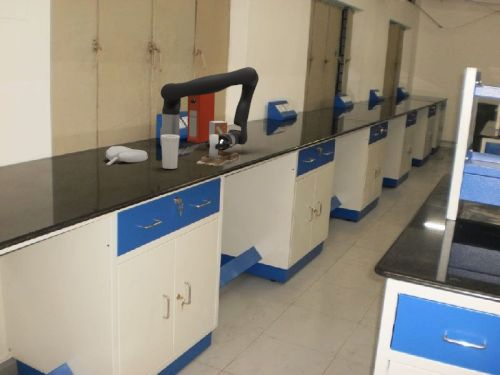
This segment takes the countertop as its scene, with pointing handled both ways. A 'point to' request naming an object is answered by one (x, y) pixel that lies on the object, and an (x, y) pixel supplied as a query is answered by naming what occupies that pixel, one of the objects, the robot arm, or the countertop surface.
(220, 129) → the small box
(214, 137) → the post
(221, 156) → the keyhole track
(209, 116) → the file binder
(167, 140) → the cup
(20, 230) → the countertop surface
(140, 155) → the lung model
